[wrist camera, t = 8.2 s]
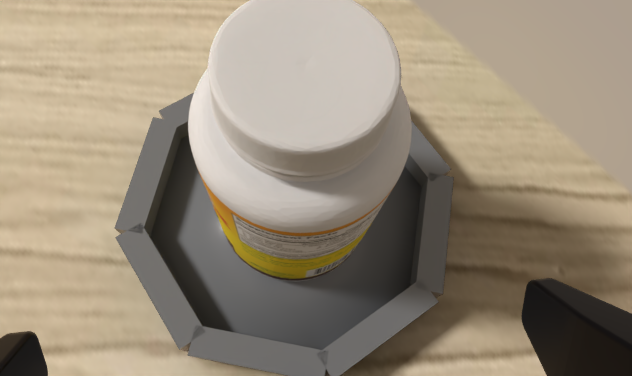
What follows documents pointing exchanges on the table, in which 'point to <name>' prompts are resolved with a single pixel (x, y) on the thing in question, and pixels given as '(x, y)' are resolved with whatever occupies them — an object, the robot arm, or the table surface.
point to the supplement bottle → (299, 131)
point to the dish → (272, 294)
